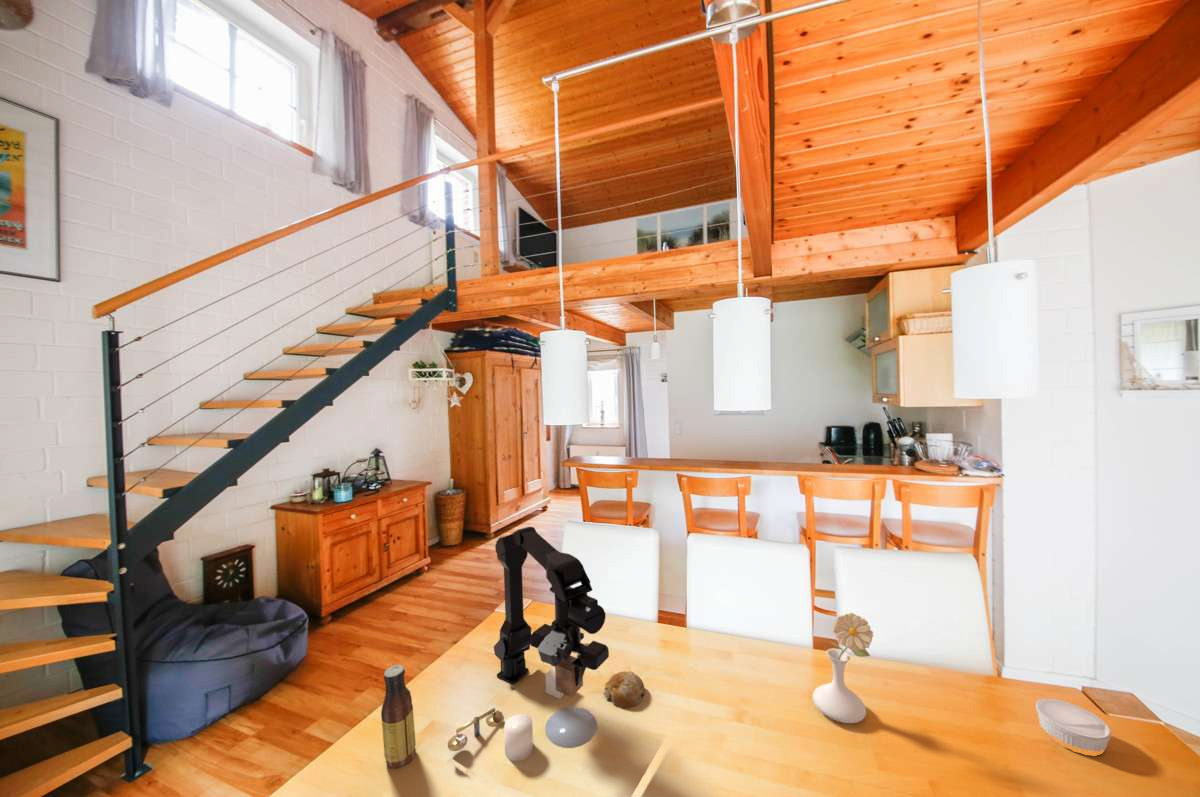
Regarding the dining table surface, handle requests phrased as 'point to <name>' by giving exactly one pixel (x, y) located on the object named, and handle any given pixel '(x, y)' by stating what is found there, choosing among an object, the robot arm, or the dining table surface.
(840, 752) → the dining table surface
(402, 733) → the sauce bottle
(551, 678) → the beige block
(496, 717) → the balance
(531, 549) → the robot arm
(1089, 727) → the ramekin
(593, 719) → the dish
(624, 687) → the bread roll
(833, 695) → the flower in vase
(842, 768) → the dining table surface
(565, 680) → the walnut block
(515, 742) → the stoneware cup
